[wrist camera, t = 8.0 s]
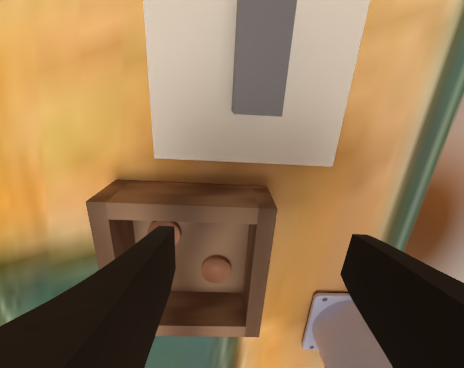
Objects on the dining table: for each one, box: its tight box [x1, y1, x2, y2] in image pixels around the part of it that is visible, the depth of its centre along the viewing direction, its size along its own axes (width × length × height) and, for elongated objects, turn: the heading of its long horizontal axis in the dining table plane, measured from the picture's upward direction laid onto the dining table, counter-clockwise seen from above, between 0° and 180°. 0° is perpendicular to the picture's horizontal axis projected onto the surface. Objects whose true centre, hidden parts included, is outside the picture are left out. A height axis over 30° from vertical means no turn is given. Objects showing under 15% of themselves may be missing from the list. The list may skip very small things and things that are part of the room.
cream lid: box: [143, 0, 370, 167], centre depth 12 cm, size 13×13×6 cm
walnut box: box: [86, 180, 277, 337], centre depth 18 cm, size 12×12×4 cm
